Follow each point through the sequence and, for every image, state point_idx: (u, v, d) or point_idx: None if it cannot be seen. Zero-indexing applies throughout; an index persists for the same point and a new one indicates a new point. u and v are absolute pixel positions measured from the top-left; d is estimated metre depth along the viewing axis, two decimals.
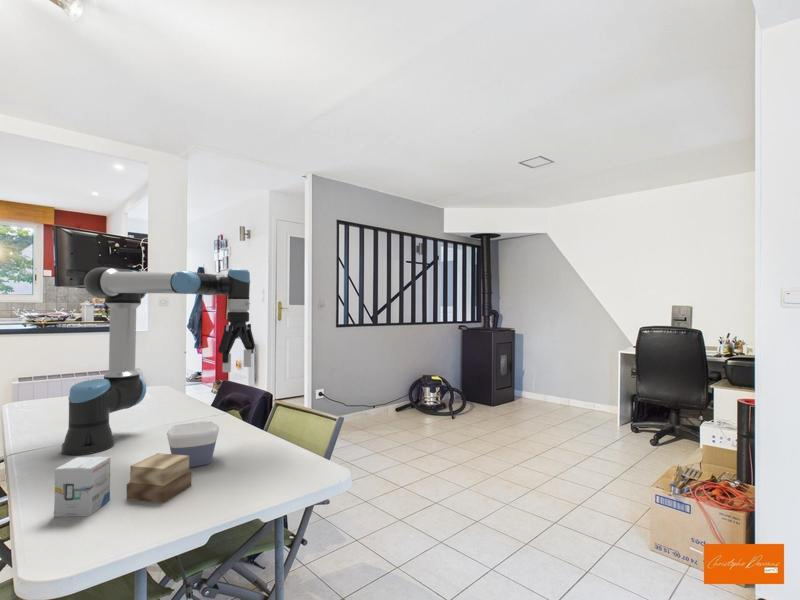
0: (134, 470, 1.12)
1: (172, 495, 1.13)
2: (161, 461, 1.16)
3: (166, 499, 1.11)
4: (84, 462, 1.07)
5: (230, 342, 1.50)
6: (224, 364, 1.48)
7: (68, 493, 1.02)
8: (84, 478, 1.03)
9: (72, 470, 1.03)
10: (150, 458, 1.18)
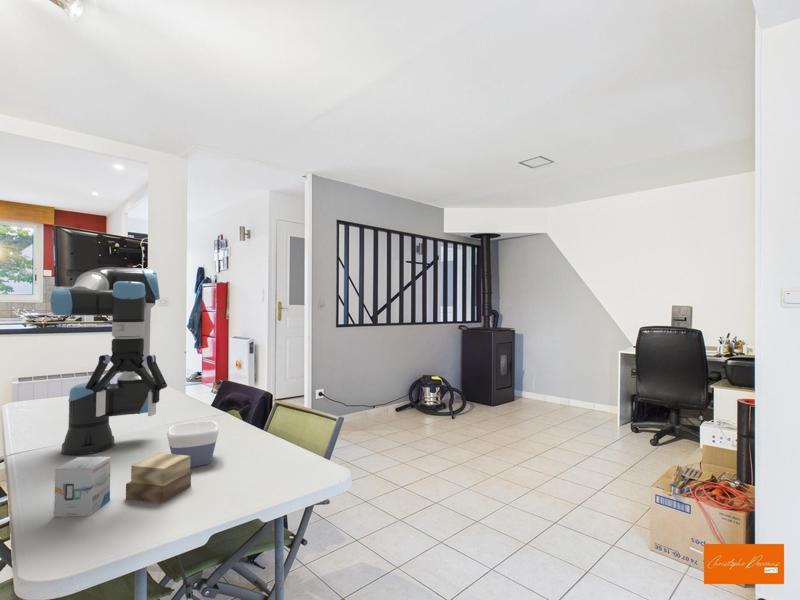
0: (135, 470, 1.12)
1: (171, 495, 1.13)
2: (162, 461, 1.16)
3: (165, 499, 1.11)
4: (84, 462, 1.07)
5: None
6: None
7: (68, 493, 1.02)
8: (84, 478, 1.03)
9: (72, 470, 1.03)
10: (151, 458, 1.18)
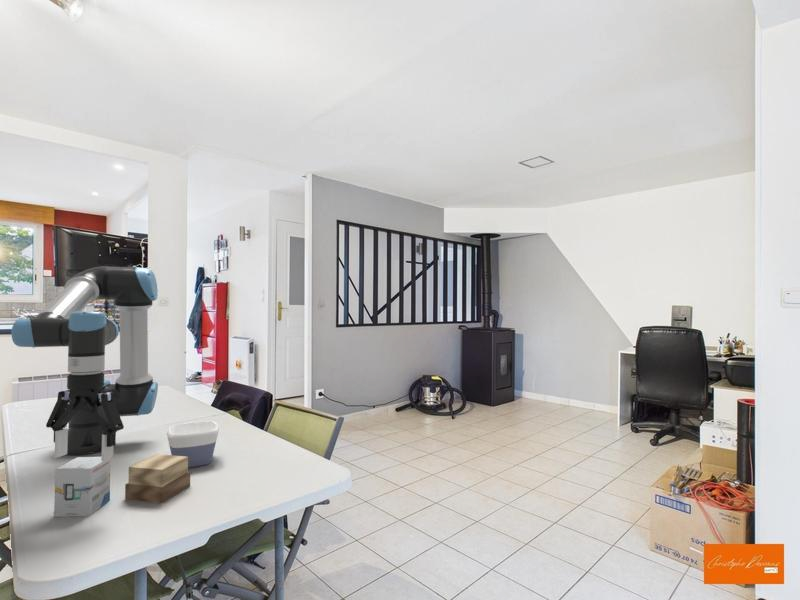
0: (133, 472, 1.12)
1: (171, 496, 1.13)
2: (160, 462, 1.15)
3: (165, 500, 1.11)
4: (84, 462, 1.07)
5: None
6: None
7: (68, 493, 1.02)
8: (84, 478, 1.03)
9: (72, 470, 1.03)
10: (149, 459, 1.17)
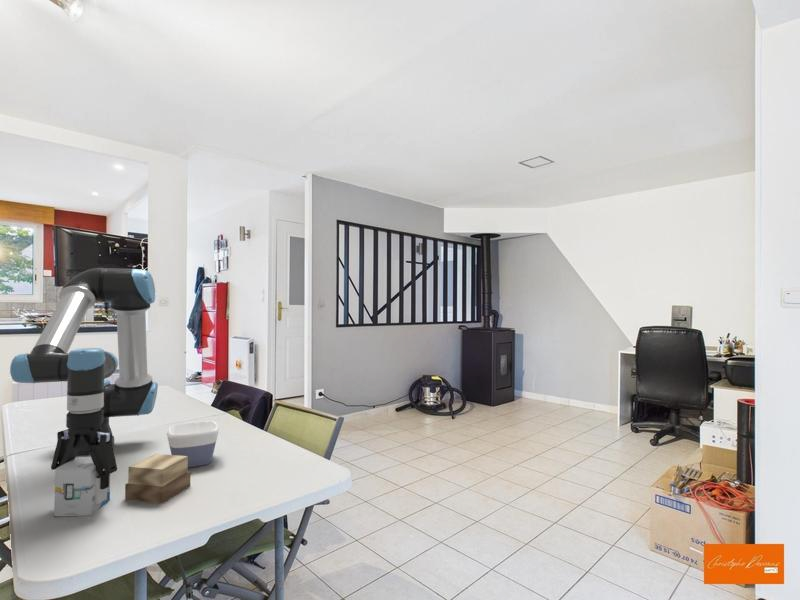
0: (133, 471, 1.12)
1: (171, 495, 1.13)
2: (160, 462, 1.15)
3: (164, 499, 1.11)
4: (84, 462, 1.07)
5: None
6: None
7: (68, 492, 1.02)
8: (84, 478, 1.03)
9: (72, 470, 1.03)
10: (148, 459, 1.18)
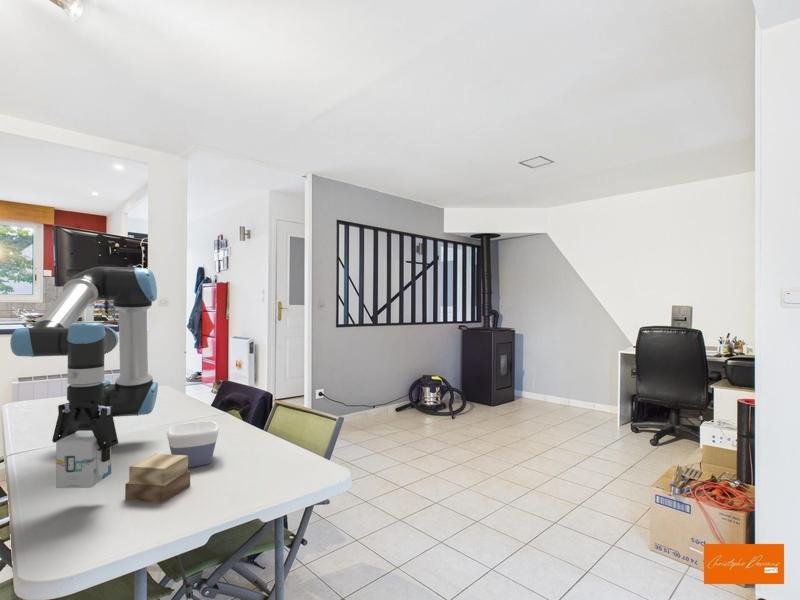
0: (134, 471, 1.12)
1: (171, 495, 1.13)
2: (161, 461, 1.15)
3: (165, 499, 1.11)
4: (85, 435, 1.07)
5: None
6: None
7: (69, 465, 1.03)
8: (85, 450, 1.03)
9: (73, 442, 1.03)
10: (148, 458, 1.17)
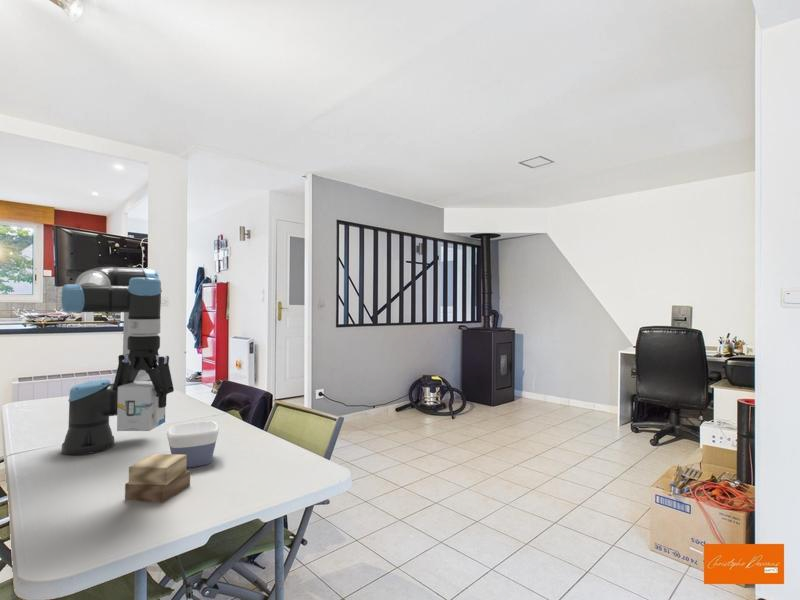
0: (133, 472, 1.11)
1: (171, 495, 1.13)
2: (160, 461, 1.16)
3: (165, 499, 1.11)
4: (143, 383, 1.14)
5: None
6: None
7: (129, 409, 1.10)
8: (144, 396, 1.10)
9: (133, 388, 1.10)
10: (146, 459, 1.17)
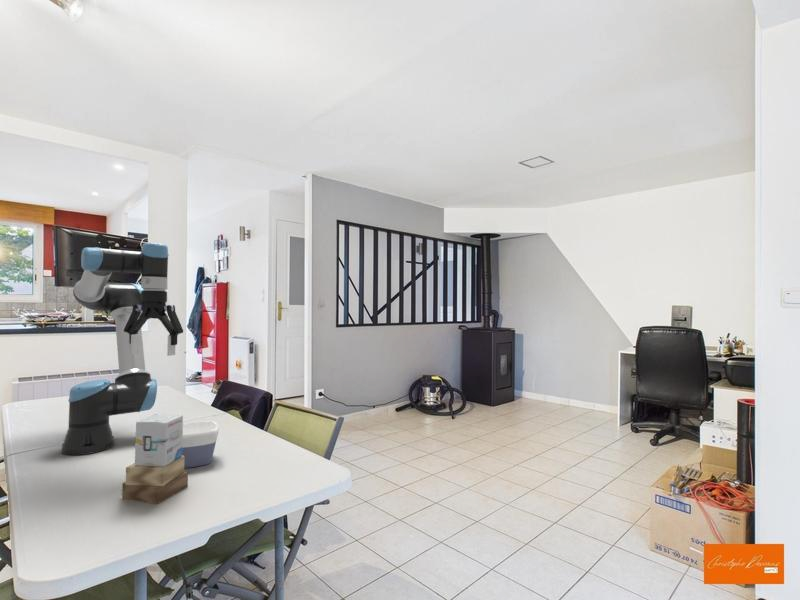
0: (130, 472, 1.11)
1: (167, 496, 1.13)
2: None
3: (160, 500, 1.10)
4: (160, 418, 1.16)
5: None
6: None
7: (146, 444, 1.12)
8: (160, 431, 1.12)
9: (150, 423, 1.12)
10: None
